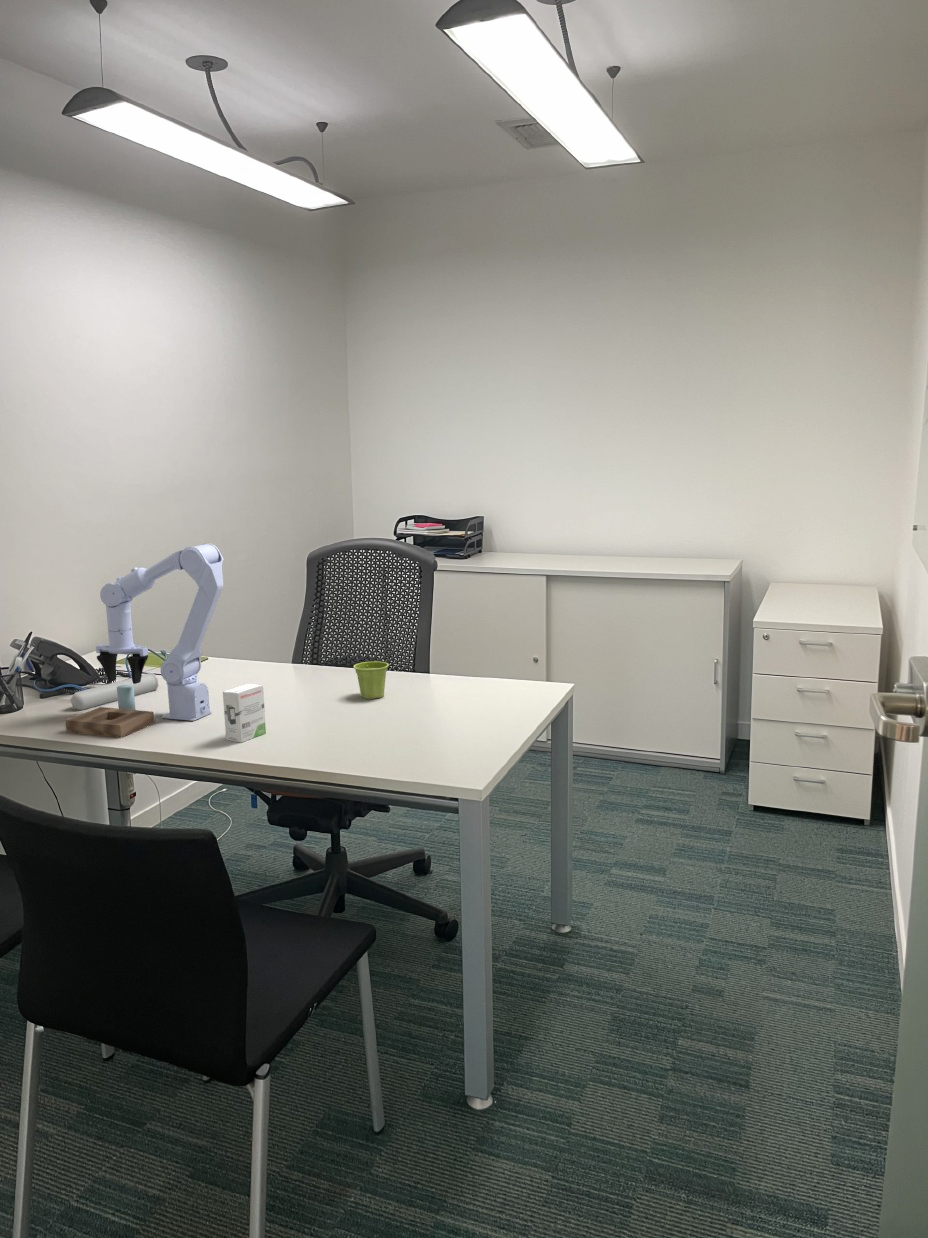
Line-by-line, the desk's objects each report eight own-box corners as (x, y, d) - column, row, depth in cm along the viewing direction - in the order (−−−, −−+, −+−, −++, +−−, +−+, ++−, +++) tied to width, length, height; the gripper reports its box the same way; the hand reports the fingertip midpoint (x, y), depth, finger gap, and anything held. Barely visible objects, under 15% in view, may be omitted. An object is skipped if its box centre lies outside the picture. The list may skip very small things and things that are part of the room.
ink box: (251, 730, 219) (248, 682, 217) (267, 733, 217) (264, 684, 214) (225, 740, 212) (221, 690, 210) (240, 743, 209) (237, 693, 207)
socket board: (154, 723, 226) (153, 711, 226) (121, 737, 215) (120, 725, 215) (101, 718, 232) (100, 707, 231) (66, 732, 220) (65, 720, 220)
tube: (80, 698, 237) (159, 677, 257) (67, 689, 239) (147, 669, 260) (78, 716, 239) (157, 694, 259) (65, 707, 241) (145, 686, 262)
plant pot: (349, 700, 244) (348, 668, 243) (361, 691, 253) (360, 660, 252) (383, 702, 242) (382, 669, 241) (394, 692, 251) (393, 661, 250)
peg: (138, 711, 237) (136, 685, 236) (128, 715, 234) (126, 689, 232) (126, 710, 239) (123, 684, 237) (115, 714, 235) (113, 688, 234)
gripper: (154, 627, 234) (158, 680, 236) (107, 625, 238) (112, 676, 241) (135, 633, 227) (140, 686, 229) (88, 630, 232) (92, 682, 234)
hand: (124, 681), depth 235 cm, fingers open, 7 cm apart
